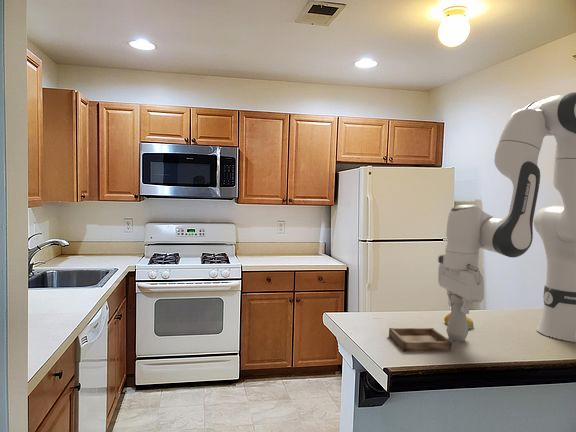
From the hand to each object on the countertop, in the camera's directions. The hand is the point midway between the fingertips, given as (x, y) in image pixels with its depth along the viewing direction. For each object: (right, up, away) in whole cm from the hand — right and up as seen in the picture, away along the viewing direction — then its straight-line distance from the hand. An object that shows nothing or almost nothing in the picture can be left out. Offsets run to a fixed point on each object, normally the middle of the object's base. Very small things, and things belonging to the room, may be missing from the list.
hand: (458, 309), depth 130 cm
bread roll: (+5, -8, +14) cm, 18 cm away
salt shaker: (0, -9, +1) cm, 9 cm away
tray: (-12, -9, -4) cm, 16 cm away
